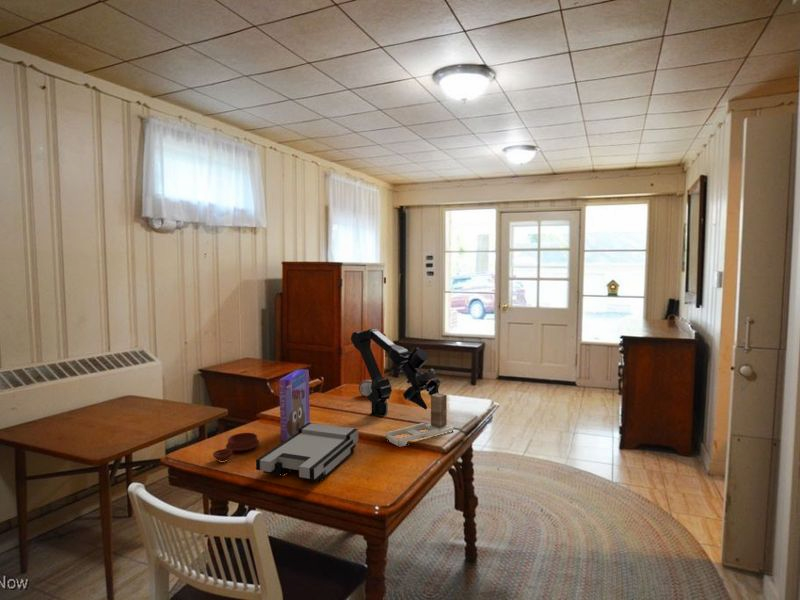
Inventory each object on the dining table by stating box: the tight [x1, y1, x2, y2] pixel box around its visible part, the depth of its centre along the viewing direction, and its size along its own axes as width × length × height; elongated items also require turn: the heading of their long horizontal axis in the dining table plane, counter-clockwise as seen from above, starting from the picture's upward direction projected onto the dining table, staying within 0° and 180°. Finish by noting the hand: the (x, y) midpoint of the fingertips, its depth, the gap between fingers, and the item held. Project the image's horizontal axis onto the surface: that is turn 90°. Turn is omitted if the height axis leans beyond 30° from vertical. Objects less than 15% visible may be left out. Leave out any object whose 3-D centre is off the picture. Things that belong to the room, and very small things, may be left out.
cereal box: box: [278, 368, 311, 442], centre depth 192 cm, size 17×5×24 cm, turn 168°
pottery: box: [212, 432, 260, 461], centre depth 174 cm, size 12×20×4 cm, turn 161°
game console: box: [255, 422, 359, 482], centre depth 164 cm, size 21×32×8 cm, turn 160°
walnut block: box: [430, 392, 448, 428], centre depth 194 cm, size 4×4×12 cm
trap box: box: [385, 422, 455, 448], centre depth 189 cm, size 26×9×3 cm, turn 125°
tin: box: [358, 379, 372, 398], centre depth 243 cm, size 15×3×8 cm, turn 84°
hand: (433, 406), depth 195 cm, fingers open, 9 cm apart
